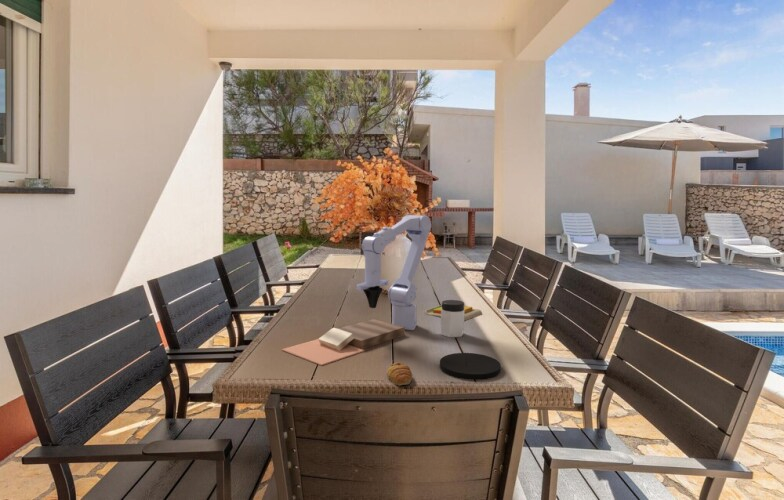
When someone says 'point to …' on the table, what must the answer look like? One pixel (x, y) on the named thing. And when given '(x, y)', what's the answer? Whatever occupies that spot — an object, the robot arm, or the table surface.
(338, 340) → the birch tile
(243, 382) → the table surface
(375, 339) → the walnut board
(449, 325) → the jar
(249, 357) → the table surface
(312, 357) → the terracotta mat
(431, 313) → the wooden puzzle
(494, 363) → the wireless charger
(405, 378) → the pastry
